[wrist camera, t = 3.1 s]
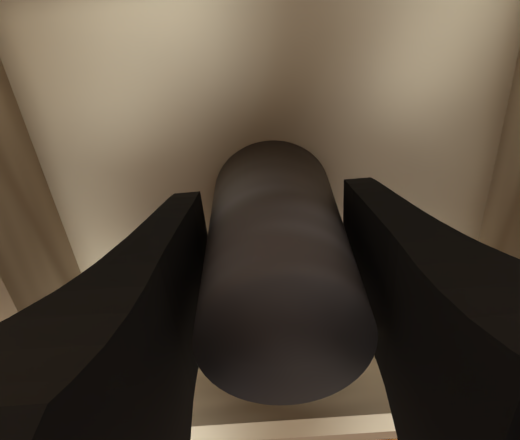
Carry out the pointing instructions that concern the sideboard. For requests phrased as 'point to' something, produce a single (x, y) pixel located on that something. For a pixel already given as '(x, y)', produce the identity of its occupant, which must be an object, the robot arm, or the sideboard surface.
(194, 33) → the beige shallow open box
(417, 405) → the robot arm
